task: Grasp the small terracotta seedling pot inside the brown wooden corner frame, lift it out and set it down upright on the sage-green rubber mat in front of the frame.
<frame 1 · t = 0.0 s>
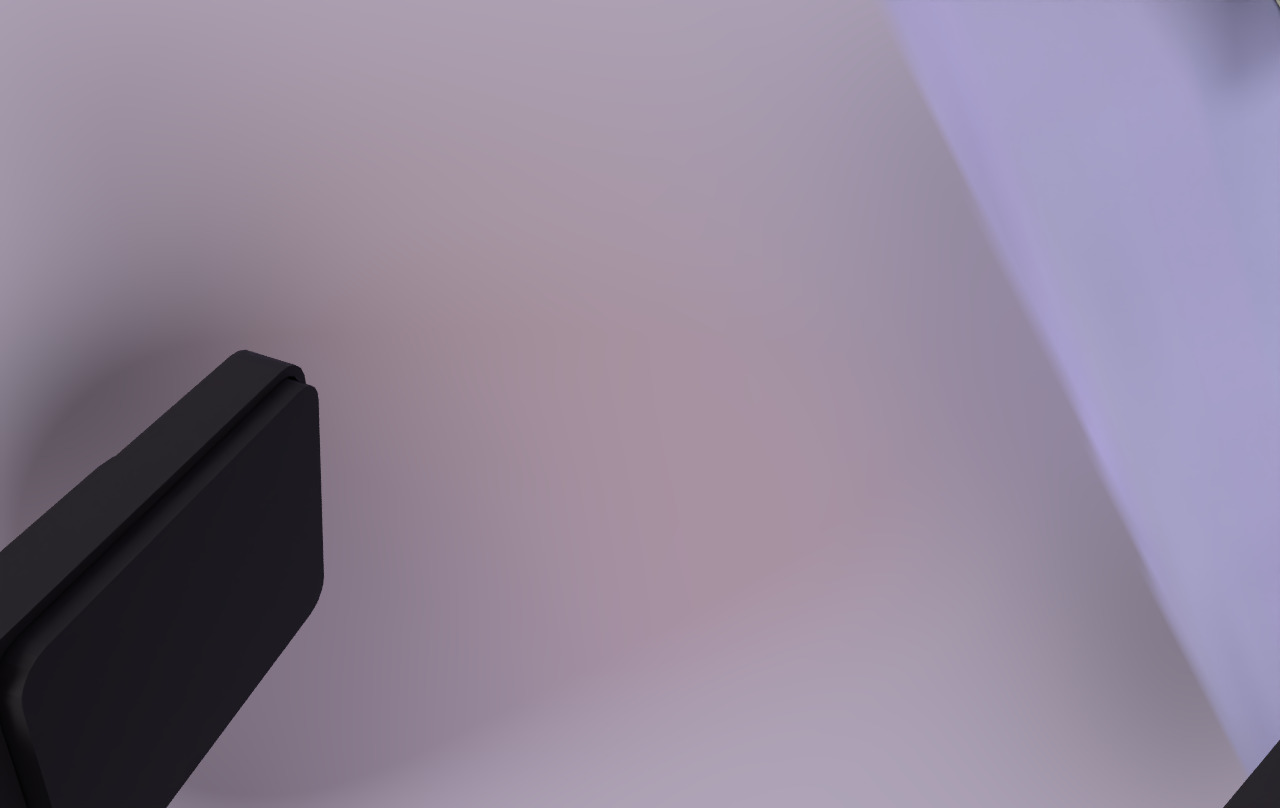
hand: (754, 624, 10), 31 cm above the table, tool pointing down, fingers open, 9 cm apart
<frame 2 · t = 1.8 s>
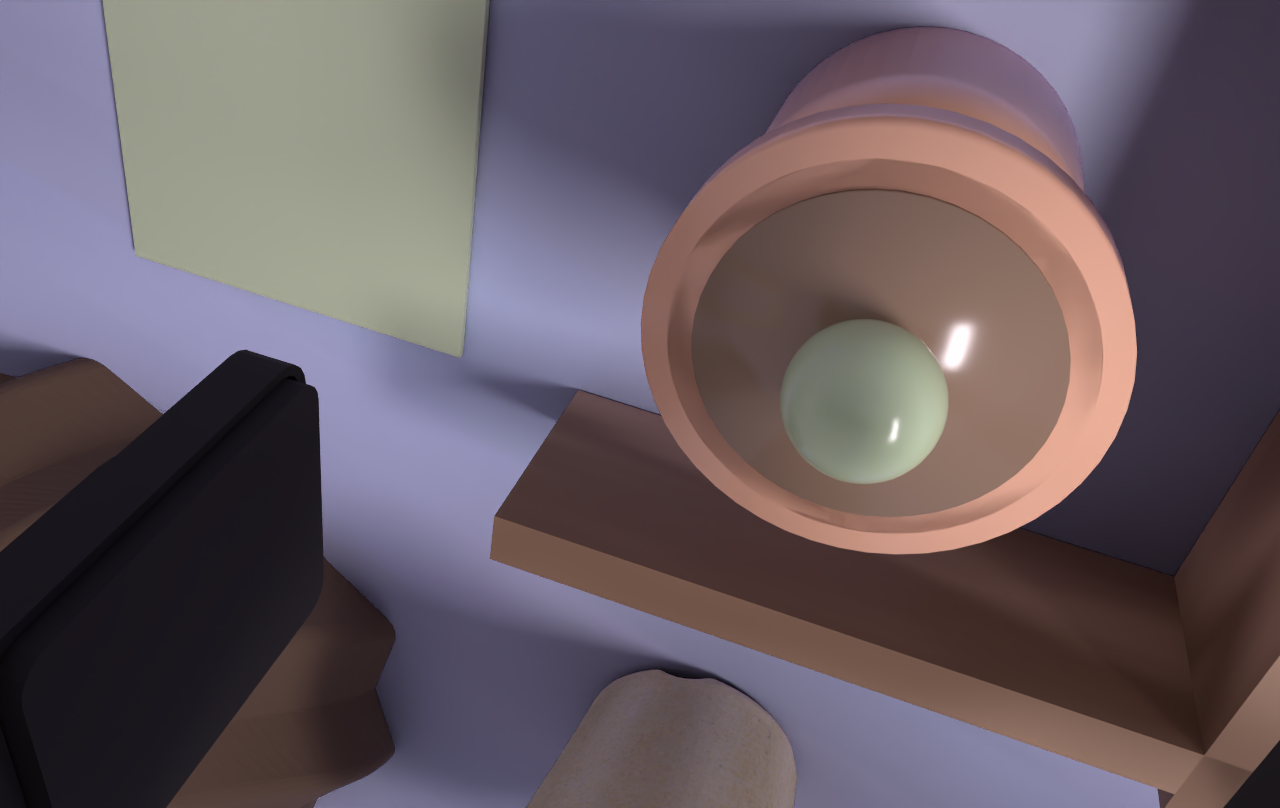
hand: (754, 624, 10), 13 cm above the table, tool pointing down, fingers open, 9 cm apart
brown wooden corner frame: (965, 201, 20), on the table
seedling pot: (914, 186, 21), on the table
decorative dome: (145, 596, 36), on the table
green mat: (289, 19, 23), on the table
flower pot: (693, 738, 31), on the table
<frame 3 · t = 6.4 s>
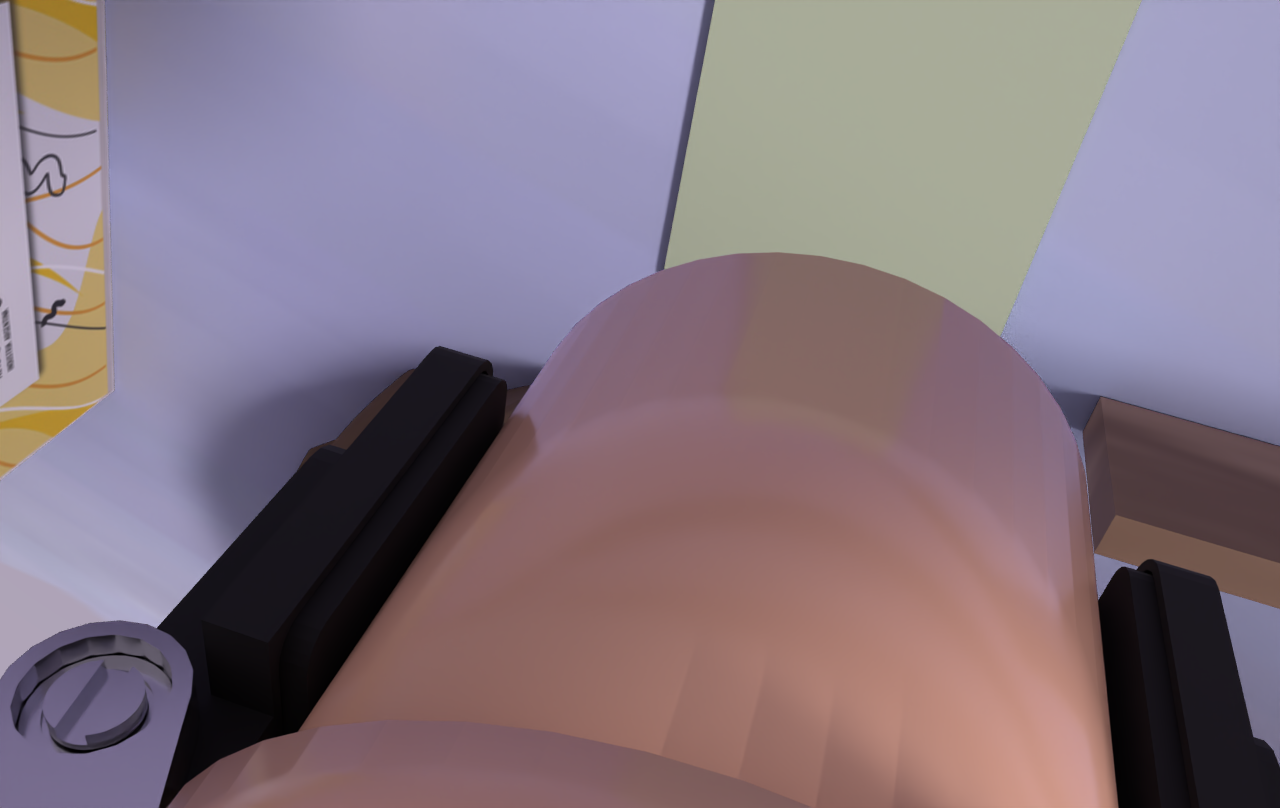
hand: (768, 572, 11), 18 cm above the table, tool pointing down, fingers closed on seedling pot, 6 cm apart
seedling pot: (786, 507, 11), point 17 cm above the table, touching gripper
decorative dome: (553, 590, 39), on the table
green mat: (897, 65, 25), on the table
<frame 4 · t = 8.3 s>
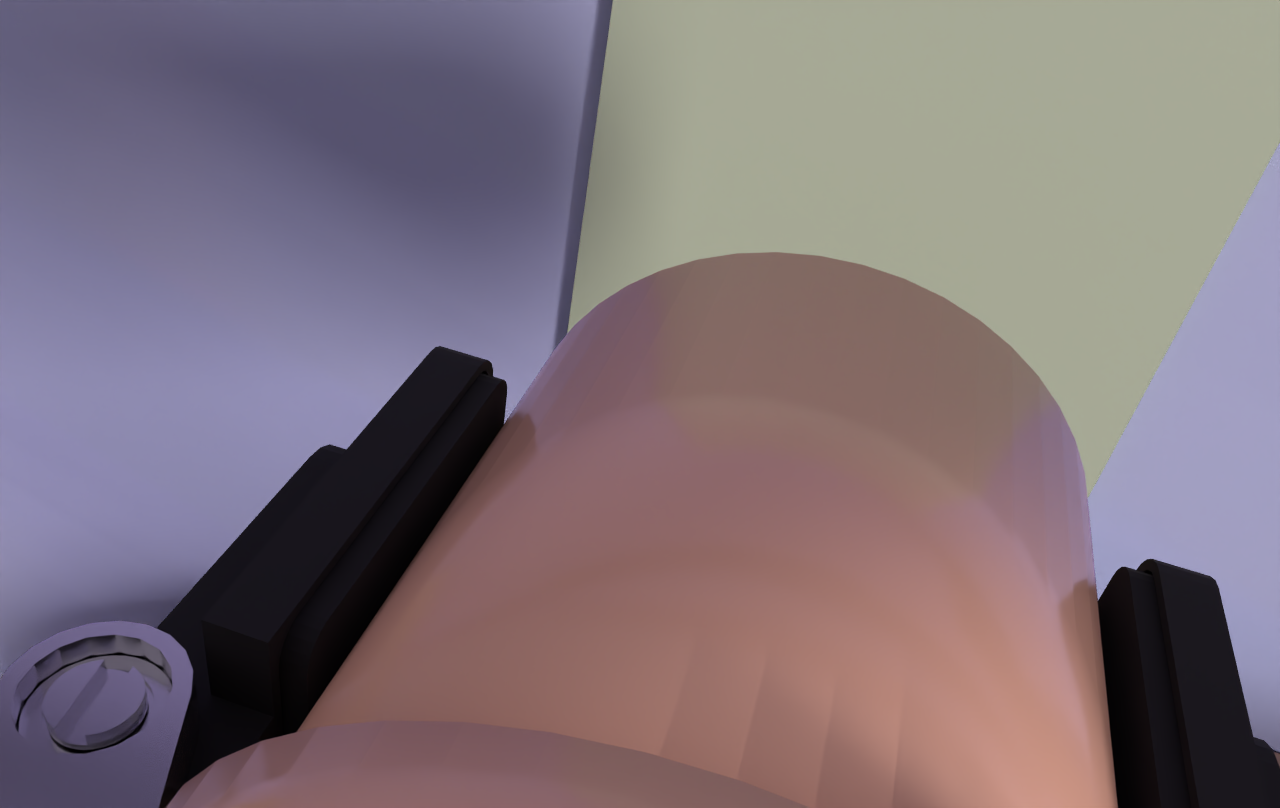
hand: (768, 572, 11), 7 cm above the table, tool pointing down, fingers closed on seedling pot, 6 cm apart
seedling pot: (786, 507, 11), point 6 cm above the table, touching gripper
green mat: (864, 271, 16), on the table
when the fingers open (3 cm above the table, at t = 9.7 s): seedling pot drops 1 cm, resting on green mat.
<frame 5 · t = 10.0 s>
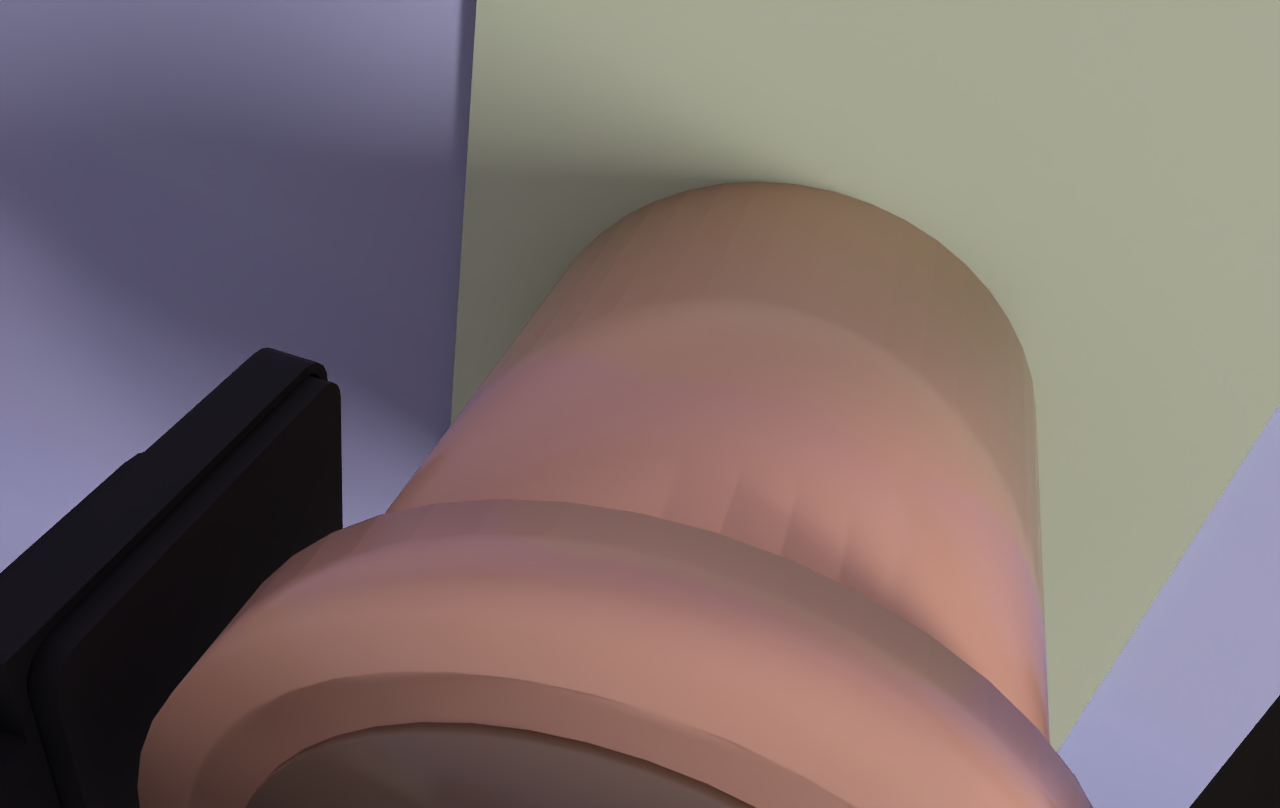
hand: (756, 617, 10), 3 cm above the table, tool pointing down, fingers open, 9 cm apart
seedling pot: (769, 419, 13), resting on green mat
green mat: (808, 420, 13), on the table
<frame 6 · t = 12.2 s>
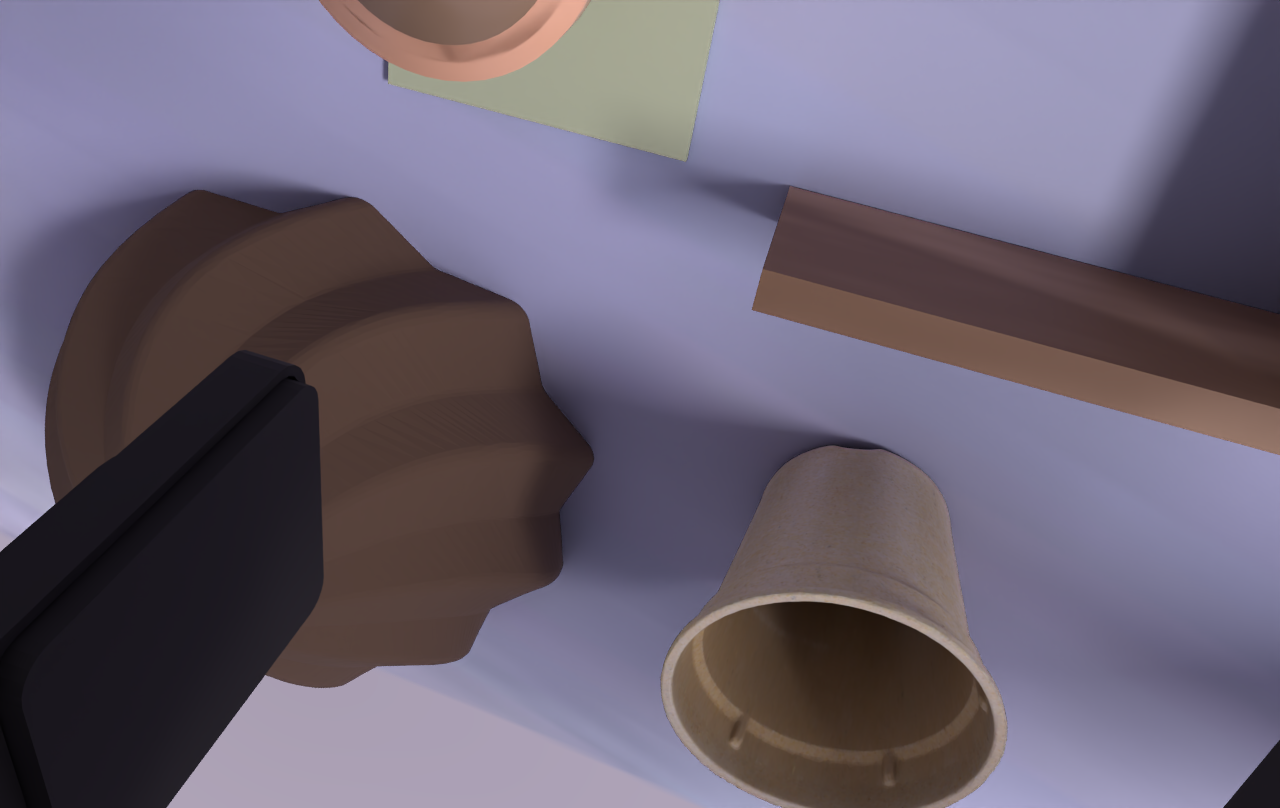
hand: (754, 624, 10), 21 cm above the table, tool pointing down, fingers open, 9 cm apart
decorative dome: (343, 422, 40), on the table
flower pot: (854, 511, 36), on the table
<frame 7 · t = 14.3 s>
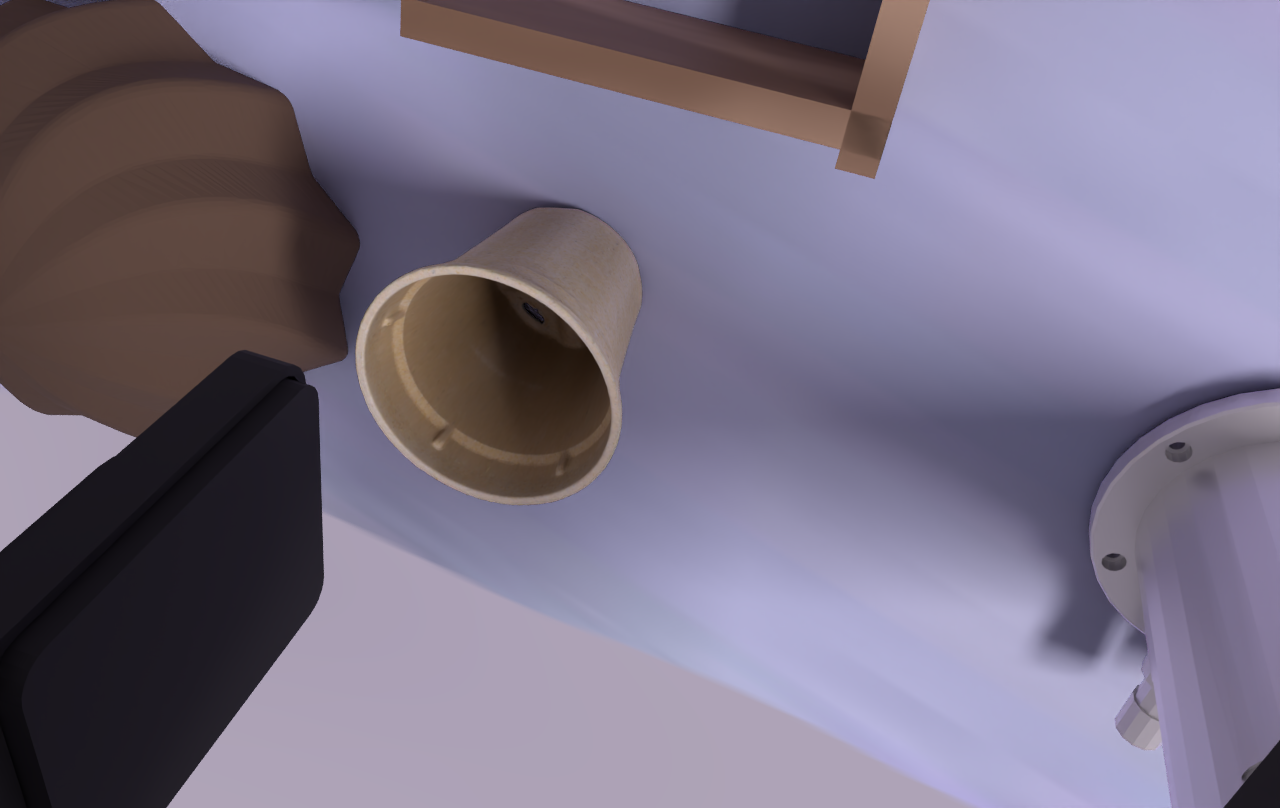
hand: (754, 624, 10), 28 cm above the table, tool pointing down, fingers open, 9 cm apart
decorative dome: (161, 218, 47), on the table
flower pot: (570, 276, 42), on the table
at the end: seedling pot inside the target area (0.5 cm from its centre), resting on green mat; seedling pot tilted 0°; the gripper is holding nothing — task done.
